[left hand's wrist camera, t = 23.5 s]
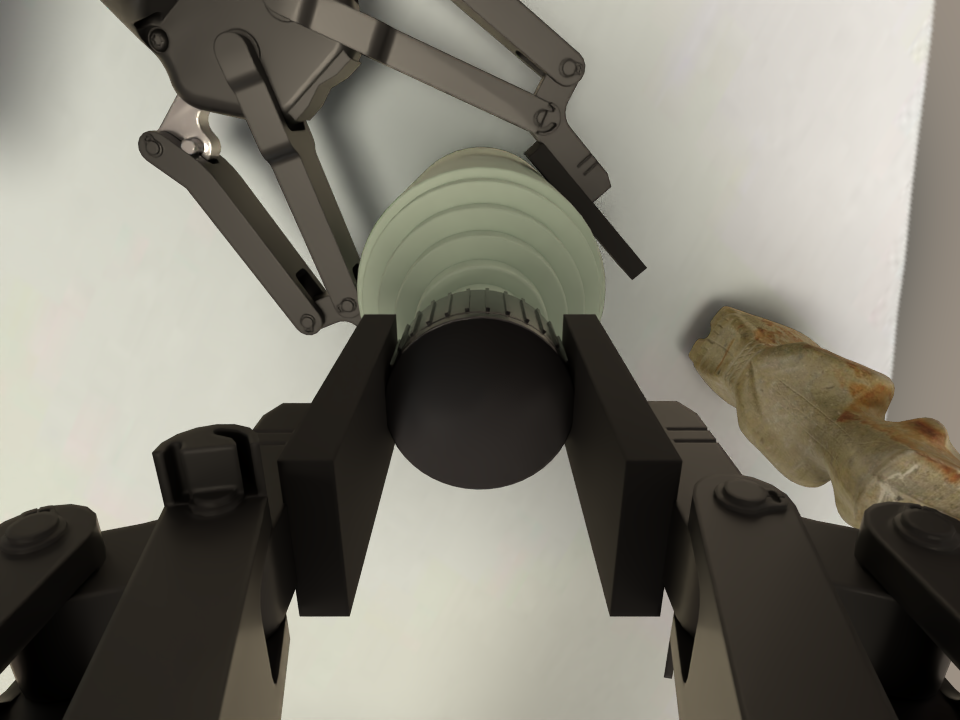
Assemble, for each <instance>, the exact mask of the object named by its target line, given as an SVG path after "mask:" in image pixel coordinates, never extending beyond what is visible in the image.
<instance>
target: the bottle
mask: <svg viewBox="0 0 960 720" xmlns="http://www.w3.org/2000/svg"><path fill="white" fill-rule="evenodd" d="M468 288H470V290H485V288H489V290H493V291H498V292H502V293H504V291H506V292H508V294H509V295H512V296H514V297H517V298H519V299H521V298H523V299H525V302H526V303H528V304H529V305H530V306H532V307H533V308H535V309H536V308H538V309H539V310H540V312H541V315H542V316H543V317H544V318H545V319H546V320H547V322H548V321H551V323H552V325H553V328H554V331H555V334H556V336H560V338H561V341H562V330H563V314H596V316H597V318H598V319H599V321H600V320H601V316H602V312H603V308H604V300H605V273H604V267H603V261H602V258H601V254H600V251H599V248H598V245H597V243H596V240H595V238H594V236H593V234H592V232H591V230H590V228H589V227H588V225H587V224H586V222H585V220H584V219H583V217H582V216H581V215H580V214H579V212H578V211H577V210H576V209H575V208H574V207H573V206H572V204H571V203H570V202H569V201H568V200H567V199H566V198H565V197H563V196H562V195H561V194H560V193H559V192H558V191H557V190H556V189H555V188H554V187H553V186H552V185H551V184H550V183H549V182H548V181H547V180H546V179H545V178H544V177H543V176H542V175H541V174H540V173H539V172H538V171H536V170H535V169H534V168H533V167H532V166H531V165H530V164H529V163H527V162H526V161H524V160H523V159H521V158H520V157H518V156H516V155H514V154H512V153H509V152H506V151H503V150H500V149H495V148H489V147H475V148H467V149H463V150H459V151H456V152H453V153H451V154H448V155H446V156H445V157H443V158H441V159H439V160H438V161H436V162H435V163H434V164H433V165H431V166H430V167H429V168H428V169H427V170H426V171H425V172H424V173H423V174H422V175H421V176H420V177H419V178H418V179H417V180H416V181H414V182H413V183H412V184H411V185H410V186H409V187H408V188H407V189H406V190H405V191H404V192H403V193H402V194H401V195H400V196H399V197H398V198H397V199H396V200H395V201H394V202H393V203H392V204H391V205H390V206H389V207H388V208H387V209H386V210H385V212H384V213H383V214H382V216H381V217H380V218H379V220H378V221H377V222H376V224H375V226H374V227H373V229H372V231H371V233H370V235H369V237H368V239H367V241H366V244H365V247H364V249H363V252H362V255H361V260H360V264H359V269H358V279H357V295H358V305H359V310H360V315H361V319H362V317H363V315H364V314H396V319H397V338H398V340H399V339H400V340H401V338H402V335H403V332H404V329H405V327H406V325H407V324H409V325H410V324H411V322H412V321H413V320H414V319H415V317H416V314H417V312H418V311H420V312H421V311H423V310H424V309H425V308H426V307H428V306H429V305H430V304H431V301H433V300H435V301H437V300H439V299H441V298H443V297H445V296H448V293H450V292H452V294H454V293H457V292H462V291H466V289H468Z"/></svg>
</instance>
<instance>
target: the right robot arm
mask: <svg viewBox="0 0 960 720" xmlns="http://www.w3.org/2000/svg"><path fill="white" fill-rule="evenodd" d="M100 1H101V2H102V3H103V4H104V5H105V6H106V7H107V8H108V9H109V10H110V11H111V12H112V13H113V14H114V15H115V16H116V17H117V18H118V19H119V20H120V21H121V22H122V23H123V24H124V25H125V26H126V27H127V28H128V29H129V30H130V31H131V32H132V33H133V34H134V35H135V36H136V37H138V38H139V39H140V40H141V41H142V42H143V43H144V44H145V45H146V46H147V47H148V48H149V49H150V50H151V51H152V52H153V53H154V54H155V55H156V56H157V57H158V58H159V59H160V61H161V62H162V64H163V66H164V67H165V69H166V71H167V73H168V75H169V78H170V81H171V83H172V86H173V88H174V90H175V91H176V93H177V96H176V98H175V100H174V102H173V104H172V105H171V107H170V109H169V111H168V113H167V115H166V117H165V118H164V120H163V122H162V124H161V126H160V128H159V129H158V130H157V131H148V132H145V133H143V134H142V135H141V136H140V138H139V142H138V146H139V151H140V153H141V155H142V156H143V157H144V158H145V159H146V160H147V161H148V162H150V163H151V164H152V165H154V166H155V167H157V168H158V169H160V170H161V171H162V172H164V173H165V174H167V175H168V176H169V177H171V178H172V179H174V180H175V181H177V182H178V183H179V184H181V185H182V186H184V187H185V188H186V189H187V190H188V191H189V192H190V194H191V195H192V196H193V197H194V199H195V200H196V201H197V203H198V204H199V205H200V206H201V208H202V209H203V210H204V211H205V213H206V214H207V215H208V217H209V218H210V219H211V220H212V222H213V223H214V224H215V225H216V227H217V228H218V229H219V231H220V232H221V233H222V234H223V236H224V237H225V238H226V239H227V241H228V242H229V243H230V244H231V246H232V247H233V248H234V250H235V251H236V252H237V253H238V255H239V256H240V257H241V258H242V260H243V261H244V262H245V264H246V265H247V266H248V267H249V269H250V270H251V271H252V272H253V274H254V275H255V276H256V278H257V279H258V280H259V281H260V283H261V284H262V285H263V286H264V288H265V289H266V290H267V292H268V293H269V294H270V295H271V297H272V298H273V299H274V300H275V302H276V303H277V304H278V306H279V307H280V308H281V309H282V311H283V312H284V313H285V314H286V316H287V317H288V318H289V320H290V321H291V322H292V323H293V325H294V326H295V327H296V328H297V329H298V330H299V331H300V332H301V333H303V334H306V335H313V334H316V333H317V332H318V331H319V330H320V329H322V328H325V327H327V326H329V325H332V324H334V323H337V322H340V321H346V322H350V323H353V324H354V325H356V326H358V324H359V322H360V320H361V315H360V310H359V305H358V295H357V279H358V269H359V264H360V258H359V255H358V253H357V251H356V248H355V246H354V243H353V241H352V239H351V236H350V234H349V231H348V229H347V226H346V224H345V222H344V219H343V217H342V214H341V212H340V209H339V207H338V205H337V202H336V200H335V197H334V195H333V193H332V190H331V188H330V185H329V183H328V180H327V178H326V176H325V173H324V171H323V168H322V166H321V163H320V161H319V159H318V156H317V154H316V150H315V142H314V139H313V136H312V134H311V131H310V129H309V126H308V124H307V122H306V121H307V120H311V118H312V117H313V116H314V115H315V114H316V113H317V112H318V111H319V110H320V109H321V107H322V106H323V104H324V102H325V100H326V98H327V96H328V94H329V92H330V90H331V88H332V87H334V86H336V85H337V84H339V83H341V82H342V81H344V80H346V79H347V78H349V77H350V75H351V74H352V73H353V72H354V71H355V70H356V69H357V68H358V67H359V66H360V64H361V63H360V61H359V60H360V57H361V55H364V56H367V57H369V58H371V59H373V60H375V61H377V62H380V63H382V64H384V65H386V66H388V67H391V68H393V69H395V70H397V71H399V72H401V73H404V74H406V75H408V76H410V77H412V78H414V79H417V80H419V81H421V82H423V83H425V84H427V85H430V86H432V87H434V88H436V89H438V90H440V91H443V92H445V93H447V94H449V95H451V96H453V97H455V98H458V99H460V100H462V101H464V102H466V103H468V104H471V105H473V106H475V107H477V108H479V109H481V110H484V111H486V112H488V113H490V114H492V115H494V116H497V117H499V118H501V119H503V120H505V121H507V122H509V123H512V124H514V125H516V126H518V127H520V128H522V129H525V130H527V131H529V132H530V133H531V134H532V135H533V137H534V138H535V139H536V140H537V141H536V142H535V143H534V144H533V145H532V146H531V147H530V148H529V149H528V150H527V151H526V152H525V153H524V154H525V155H526V157H527V158H528V159H529V160H530V161H531V162H532V164H533V165H534V166H535V167H536V168H537V170H538V171H539V172H540V173H541V174H542V175H543V177H544V178H545V179H546V180H547V181H548V182H549V183H550V184H551V185H552V186H553V187H554V188H555V189H556V190H557V191H558V192H559V193H560V194H561V195H562V196H563V197H565V198H566V199H567V200H568V201H569V202H570V203H571V204H572V206H573V207H574V208H575V209H576V210H577V211H578V212H579V214H580V215H581V216H582V217H583V219H584V220H585V222H586V224H587V225H588V227H589V228H590V230H591V232H592V234H593V236H594V237H595V238H596V239H597V240H598V242H599V243H600V244H601V245H602V246H603V248H604V249H605V250H606V251H607V252H608V253H609V255H610V256H611V257H612V258H613V259H614V261H615V262H616V263H617V264H618V265H619V266H620V267H621V268H622V270H623V271H624V272H625V273H626V274H627V275H628V276H629V277H630V278H631V279H632V280H633V279H634V278H635V277H637V276H638V275H639V274H640V273H641V272H643V271H644V270H645V269H646V268H647V267H646V266H645V265H644V264H643V262H642V261H641V260H640V259H639V258H638V256H637V255H636V254H635V253H634V252H633V250H632V249H631V248H630V247H629V246H628V244H627V243H626V242H625V241H624V240H623V238H622V237H621V236H620V235H619V234H618V232H617V231H616V230H615V229H614V227H613V226H612V225H611V224H610V223H609V221H608V220H607V219H606V218H605V217H604V215H603V214H602V213H601V212H600V211H599V209H598V208H597V207H596V206H595V205H594V203H593V202H594V201H595V200H597V199H598V198H599V197H600V196H601V195H602V194H603V193H605V192H606V191H607V190H608V189H609V188H610V187H611V184H610V181H609V177H608V174H607V172H606V171H605V170H604V169H603V167H602V166H601V165H600V164H599V163H598V161H597V160H596V159H595V157H594V156H593V155H592V154H591V152H590V151H589V150H588V149H587V148H586V146H585V145H584V144H583V143H582V141H581V140H580V139H579V138H578V136H577V135H576V134H575V133H574V131H573V130H572V129H571V128H570V126H569V125H568V123H567V120H566V115H565V111H566V106H567V103H568V101H569V99H570V97H571V95H572V93H573V91H574V89H575V87H576V85H577V84H578V82H579V81H580V80H581V79H582V77H583V75H584V72H585V63H584V59H583V57H582V56H581V55H580V53H578V52H577V51H576V50H575V49H574V48H573V47H572V46H570V45H569V44H568V43H567V42H566V41H565V40H564V39H563V38H561V37H560V36H559V35H558V34H557V33H556V32H555V31H553V30H552V29H551V28H550V27H549V26H548V25H547V24H546V23H544V22H543V21H542V20H541V19H540V18H539V17H538V16H536V15H535V14H534V13H533V12H532V11H531V10H530V9H528V8H527V7H526V6H525V5H524V4H523V3H522V2H521V1H519V0H451V1H452V2H453V3H455V4H456V5H457V6H458V7H459V8H460V9H462V10H463V11H464V12H465V13H466V14H467V15H469V16H470V17H471V18H472V19H473V20H474V21H476V22H477V23H478V24H479V25H480V26H481V27H483V28H484V29H485V30H486V31H487V32H489V33H490V34H491V35H492V36H493V37H494V38H496V39H497V40H498V41H499V42H500V43H501V44H503V45H504V46H505V47H506V48H507V49H508V50H510V51H511V52H512V53H513V54H514V55H515V56H517V57H518V58H519V59H520V60H521V61H523V62H524V63H525V64H526V65H527V66H528V67H530V68H531V69H532V70H533V71H534V72H535V73H537V74H538V75H539V76H540V77H541V78H542V79H541V81H540V83H539V85H538V87H537V89H536V91H535V93H534V95H533V94H531V93H529V92H527V91H525V90H523V89H521V88H519V87H517V86H514V85H512V84H510V83H508V82H506V81H504V80H502V79H500V78H498V77H495V76H493V75H491V74H489V73H487V72H485V71H483V70H481V69H479V68H476V67H474V66H472V65H470V64H468V63H466V62H464V61H462V60H460V59H457V58H455V57H453V56H451V55H449V54H447V53H445V52H443V51H441V50H438V49H436V48H434V47H432V46H430V45H428V44H426V43H424V42H422V41H419V40H417V39H415V38H413V37H411V36H409V35H407V34H405V33H402V32H400V31H398V30H396V29H394V28H392V27H391V26H389V25H387V24H385V23H383V22H381V21H379V20H377V19H375V18H373V17H371V16H369V15H367V14H365V13H362V12H360V9H359V3H358V0H100ZM210 112H213V113H218V114H222V115H227V116H232V117H237V118H241V119H246V121H247V123H248V125H249V128H250V130H251V132H252V134H253V137H254V139H255V141H256V143H257V146H258V148H259V150H260V152H261V154H262V155H263V157H264V158H265V159H266V160H267V161H268V162H269V163H270V165H271V167H272V169H273V171H274V173H275V175H276V178H277V180H278V182H279V184H280V187H281V189H282V191H283V193H284V196H285V198H286V200H287V202H288V205H289V207H290V209H291V211H292V214H293V216H294V218H295V220H296V223H297V225H298V227H299V229H300V232H301V234H302V236H303V238H304V241H305V243H306V245H307V248H308V250H309V252H310V254H311V257H312V259H313V261H314V263H315V266H316V268H317V270H318V272H319V275H320V277H321V279H322V281H323V284H324V286H325V288H326V290H327V291H326V290H325V288H324V287H323V286H322V284H321V283H320V282H319V280H318V279H317V278H316V276H315V275H314V274H313V272H312V271H311V270H310V268H309V267H308V266H307V264H306V263H305V262H304V260H303V259H302V258H301V256H300V255H299V254H298V252H297V251H296V250H295V248H294V247H293V246H292V244H291V243H290V242H289V240H288V239H287V237H286V236H285V235H284V233H283V232H282V231H281V229H280V228H279V227H278V225H277V224H276V223H275V221H274V220H273V219H272V217H271V216H270V215H269V213H268V212H267V211H266V209H265V208H264V207H263V205H262V204H261V203H260V201H259V200H258V199H257V197H256V196H255V195H254V193H253V192H252V191H251V189H250V188H249V187H248V185H247V184H246V183H245V181H244V180H243V179H242V177H241V176H240V175H239V174H238V172H237V171H236V170H235V169H234V168H233V167H232V166H231V165H230V164H229V163H228V162H227V161H226V160H225V159H224V158H223V157H222V156H221V155H219V154H220V152H221V144H220V141H219V139H218V137H217V136H216V135H215V134H214V133H213V131H212V130H211V128H210V126H209V122H208V117H209V113H210Z"/></svg>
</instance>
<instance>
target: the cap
mask: <svg viewBox="0 0 960 720" xmlns="http://www.w3.org/2000/svg"><path fill="white" fill-rule="evenodd" d="M568 363H569V360H568V357H567V355H566V352H565V349H564V346H563V344H562V341H561V338H560V336H556V334H555V331H554V328H553V325H552V323H551V321H548V322H547V320H546V319H545V318H544V317H543V316H542V315H541V312H540V310H539V309H538V308H536V309H535V308H533V307H532V306H530V305H529V304H528V303H526V302H525V299H523V298H521V299H519V298H517V297H514V296H512V295H509V294H508V292H506V291H504V293H502V292H498V291H493V290H489V288H485V290H470V288H468V289H466V291H462V292H457V293H454V294H452V292H450V293H448V296H445V297H443V298H441V299H439V300H437V301H435V300H433V301H431V304H430V305H429V306H428V307H426V308H425V309H424V310H423V311H421V312H420V311H418V312H417V314H416V317H415V319H414V320H413V321H412V322H411V324H410V325H409V324H407V325H406V327H405V329H404V332H403V335H402V338H401V340H400V339H399V340H398V343H397V345H396V348H395V351H394V353H393V356H392V359H391V362H390V364H389V367H390V368H391V370H390V373H389V376H388V379H387V382H386V387H385V401H386V416H387V427H388V429H389V432H390V434H391V437H392V439H393V441H394V442H395V444H396V446H397V447H398V449H399V450H400V451H401V453H402V454H403V455H404V457H405V458H406V459H407V460H408V461H409V462H410V463H411V464H412V465H414V466H415V467H416V468H417V469H419V470H420V471H421V472H423V473H424V474H426V475H428V476H430V477H431V478H433V479H435V480H438V481H440V482H442V483H445V484H448V485H451V486H455V487H460V488H465V489H493V488H500V487H504V486H508V485H512V484H515V483H517V482H520V481H522V480H524V479H526V478H528V477H530V476H532V475H534V474H535V473H537V472H538V471H540V470H541V469H542V468H544V467H545V466H546V465H547V464H548V463H549V462H550V461H551V460H552V459H553V458H554V457H555V456H556V455H557V454H558V452H559V451H560V450H561V448H562V447H563V445H564V444H565V442H566V440H567V438H568V436H569V434H570V431H571V428H572V424H573V410H574V394H575V387H574V384H573V380H572V376H571V374H570V371H569V368H568V365H567V364H568Z"/></svg>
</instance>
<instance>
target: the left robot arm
mask: <svg viewBox="0 0 960 720" xmlns="http://www.w3.org/2000/svg"><path fill="white" fill-rule="evenodd" d="M397 343H398V338H397V319H396V314H364V315H363V317H362V319H361V320H360V322H359V324H358V326H357V327H356V329H355V331H354V332H353V334H352V336H351V337H350V339H349V341H348V342H347V344H346V346H345V347H344V349H343V351H342V352H341V354H340V356H339V357H338V359H337V361H336V362H335V364H334V366H333V367H332V369H331V371H330V373H329V374H328V376H327V378H326V379H325V381H324V383H323V384H322V386H321V388H320V389H319V391H318V393H317V394H316V396H315V398H314V399H313V401H312V403H282V404H281V405H279V406H278V407H276V408H274V409H273V410H271V411H270V412H268V413H266V414H265V415H263V416H262V418H261V419H260V420H259V422H258V423H257V425H256V426H255V427H254V429H253V430H252V429H251V428H249V427H245V426H240V425H236V424H216V425H210V426H204V427H198V428H194V429H191V430H188V431H185V432H182V433H179V434H177V435H175V436H173V437H171V438H170V439H168V440H166V441H164V442H162V443H161V444H160V445H159V446H158V447H157V448H156V449H155V450H154V451H153V452H152V455H153V459H154V463H155V468H156V472H157V476H158V480H159V485H160V489H161V493H162V497H163V502H164V509H163V511H162V513H161V515H160V517H159V519H158V520H155V521H151V522H147V523H143V524H138V525H133V526H127V527H122V528H117V529H112V530H106V531H101V530H100V526H99V523H98V519H97V516H96V513H94V512H93V511H92V510H91V509H89V508H88V507H86V506H80V505H74V504H67V505H55V506H53V505H51V506H45V507H40V509H37V508H36V509H33V510H29V511H26V512H24V513H22V514H21V515H19V516H16V517H14V518H12V519H9V520H7V521H5V522H3V523H1V524H0V674H1V673H2V672H3V671H4V670H5V668H6V667H7V666H8V665H9V664H10V666H11V669H12V671H13V674H14V676H15V679H16V680H15V681H14V682H13V683H12V684H11V686H10V687H9V688H8V689H7V690H6V691H5V692H4V693H3V694H1V695H0V720H281V714H282V705H283V696H284V687H285V679H286V670H287V661H288V653H289V644H290V635H289V629H288V622H287V616H286V612H287V609H288V607H289V604H290V602H291V599H292V597H293V594H294V592H295V589H296V595H297V602H298V609H299V615H300V616H350V613H351V609H352V605H353V601H354V598H355V594H356V590H357V586H358V582H359V579H360V575H361V571H362V567H363V563H364V559H365V556H366V552H367V548H368V544H369V540H370V537H371V533H372V529H373V525H374V521H375V517H376V514H377V510H378V506H379V502H380V498H381V495H382V491H383V487H384V483H385V479H386V476H387V472H388V468H389V464H390V460H391V456H392V453H393V449H394V445H395V442H394V441H393V439H392V437H391V434H390V432H389V429H388V427H387V416H386V401H385V387H386V382H387V379H388V376H389V373H390V370H391V368H390V367H389V364H390V362H391V359H392V356H393V353H394V351H395V348H396V345H397ZM562 344H563V346H564V349H565V352H566V355H567V357H568V360H569V363H568V364H567V365H568V368H569V371H570V374H571V376H572V380H573V384H574V387H575V394H574V410H573V424H572V428H571V431H570V434H569V436H568V438H567V440H566V442H565V446H566V450H567V454H568V458H569V462H570V466H571V469H572V473H573V477H574V481H575V485H576V488H577V492H578V496H579V500H580V504H581V508H582V511H583V515H584V519H585V523H586V527H587V530H588V534H589V538H590V542H591V546H592V550H593V553H594V557H595V561H596V565H597V569H598V572H599V576H600V580H601V584H602V588H603V592H604V595H605V599H606V603H607V607H608V611H609V614H610V616H660V613H661V606H662V599H663V592H664V587H665V590H666V592H667V595H668V597H669V600H670V602H671V605H672V607H673V610H674V616H673V622H672V629H671V635H670V641H669V648H668V654H667V661H666V667H665V673H664V677H665V678H671V679H672V675H673V670H674V677H675V686H676V695H677V704H678V712H679V720H960V693H959V692H958V691H957V690H956V689H955V688H954V687H953V686H952V685H951V684H950V683H949V681H948V680H947V679H946V678H945V675H946V672H947V670H948V667H949V665H950V662H951V661H952V662H953V663H954V664H955V666H956V667H957V668H958V669H959V670H960V521H959V520H957V519H955V518H953V517H951V516H948V515H946V514H944V513H941V512H939V511H938V510H936V509H934V508H931V507H927V506H924V505H923V506H921V505H920V504H914V503H903V502H891V501H888V502H882V503H876V504H873V505H871V506H870V507H869V508H867V509H866V510H865V511H864V514H863V518H862V521H861V525H860V528H859V529H857V528H852V527H846V526H841V525H836V524H831V523H825V522H820V521H815V520H811V519H807V518H803V517H801V516H800V514H799V512H798V510H797V508H796V506H795V504H794V503H793V502H792V501H791V499H790V498H789V497H788V496H787V494H785V493H784V492H782V491H780V490H779V489H777V488H776V487H774V486H773V485H771V484H769V483H766V482H763V481H761V480H758V479H756V478H753V477H748V476H743V475H742V474H741V473H740V471H739V470H738V469H737V467H736V466H735V465H734V463H733V462H732V461H731V459H730V458H729V456H728V455H727V454H726V452H725V451H724V450H723V448H722V447H721V446H720V444H719V443H716V439H715V438H714V436H713V435H712V433H711V432H710V431H707V427H706V425H705V424H704V423H703V421H702V420H701V419H700V417H699V416H698V415H697V413H695V412H693V411H692V410H690V409H689V408H687V407H685V406H684V405H682V404H681V403H679V402H677V401H647V400H646V398H645V397H644V395H643V393H642V392H641V390H640V388H639V387H638V385H637V383H636V382H635V380H634V378H633V377H632V375H631V373H630V372H629V370H628V368H627V367H626V365H625V363H624V361H623V360H622V358H621V356H620V355H619V353H618V351H617V350H616V348H615V346H614V345H613V343H612V341H611V340H610V338H609V336H608V335H607V333H606V331H605V330H604V328H603V326H602V325H601V323H600V321H599V319H598V318H597V316H596V314H563V330H562Z"/></svg>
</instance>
